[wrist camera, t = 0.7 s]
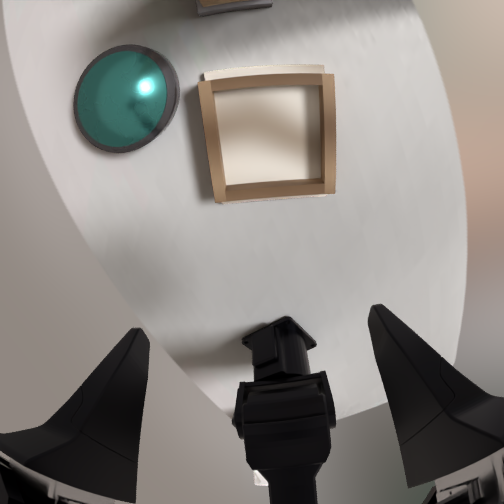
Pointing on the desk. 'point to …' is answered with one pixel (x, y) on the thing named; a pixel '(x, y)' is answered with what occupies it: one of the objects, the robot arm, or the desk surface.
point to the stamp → (229, 5)
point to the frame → (270, 132)
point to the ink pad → (126, 98)
